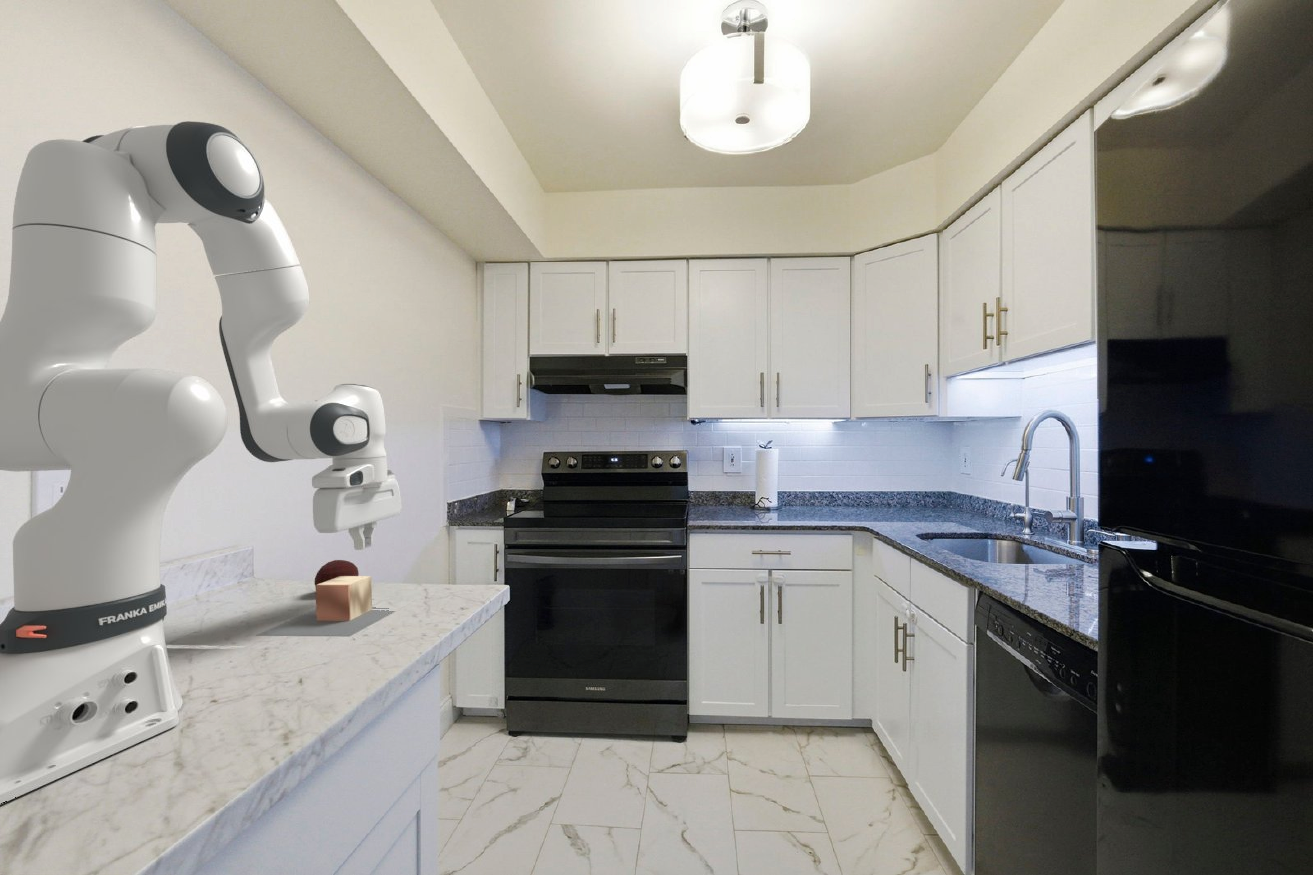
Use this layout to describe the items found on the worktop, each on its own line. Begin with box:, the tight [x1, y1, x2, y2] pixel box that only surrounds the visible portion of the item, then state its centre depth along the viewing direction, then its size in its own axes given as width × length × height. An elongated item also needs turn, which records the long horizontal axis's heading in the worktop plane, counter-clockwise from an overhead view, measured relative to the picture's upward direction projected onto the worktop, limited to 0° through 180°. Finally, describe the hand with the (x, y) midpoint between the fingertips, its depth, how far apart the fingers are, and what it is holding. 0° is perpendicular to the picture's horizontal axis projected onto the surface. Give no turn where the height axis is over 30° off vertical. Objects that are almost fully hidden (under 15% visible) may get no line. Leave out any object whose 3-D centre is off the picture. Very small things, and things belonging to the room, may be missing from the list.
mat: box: [255, 607, 395, 637], centre depth 94 cm, size 19×16×1 cm
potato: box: [314, 559, 360, 588], centre depth 110 cm, size 7×8×7 cm
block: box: [315, 575, 373, 621], centre depth 95 cm, size 6×6×6 cm
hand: (363, 548), depth 100 cm, fingers closed
